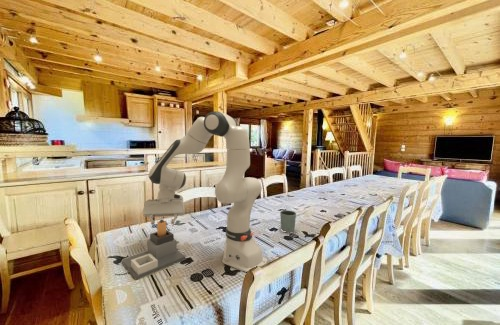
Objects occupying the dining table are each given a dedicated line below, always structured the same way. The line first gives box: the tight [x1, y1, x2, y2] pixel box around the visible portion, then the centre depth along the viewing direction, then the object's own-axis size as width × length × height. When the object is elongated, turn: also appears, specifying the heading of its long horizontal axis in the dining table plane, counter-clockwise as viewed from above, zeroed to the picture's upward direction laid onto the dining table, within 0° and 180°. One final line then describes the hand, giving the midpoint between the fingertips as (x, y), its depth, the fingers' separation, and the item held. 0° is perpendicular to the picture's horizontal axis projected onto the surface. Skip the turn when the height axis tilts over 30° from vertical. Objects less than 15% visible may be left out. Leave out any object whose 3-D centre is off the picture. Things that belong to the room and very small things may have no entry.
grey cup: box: [280, 209, 297, 233], centre depth 139 cm, size 10×10×12 cm
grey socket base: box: [121, 229, 186, 281], centre depth 99 cm, size 17×22×10 cm
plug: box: [156, 219, 167, 238], centre depth 104 cm, size 4×4×10 cm
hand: (162, 223), depth 106 cm, fingers open, 8 cm apart
